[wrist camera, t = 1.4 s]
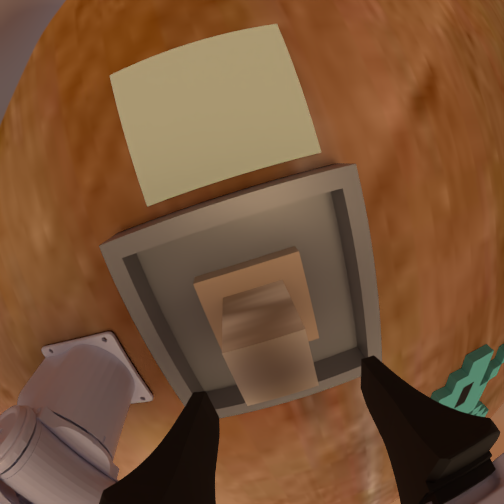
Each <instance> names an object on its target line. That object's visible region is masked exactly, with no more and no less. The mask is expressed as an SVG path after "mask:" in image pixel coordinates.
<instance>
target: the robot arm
mask: <svg viewBox="0 0 504 504" xmlns="http://www.w3.org/2000/svg"><path fill="white" fill-rule="evenodd" d="M103 337H105V338H106V339H107V340H105V339H104V338H103ZM52 350H53V351H52ZM41 351H42V353H43V355H44V356H45V359H44V360H43V362H42V363H41V364H40V366H39V367H38V368H37V370H36V371H35V372H34V374H33V375H32V377H31V378H30V379H29V381H28V382H27V384H26V385H25V386H24V388H23V389H22V391H21V392H20V394H19V397H18V402H17V405H14V406H12V407H10V408H8V409H7V410H6V411H4V412H3V413H2V414H1V415H0V504H216V502H215V470H216V462H217V453H218V444H219V416H218V414H217V412H216V410H215V408H214V406H213V404H212V402H211V401H210V399H209V397H208V395H207V393H206V391H202V392H193V394H192V395H191V397H190V399H189V400H188V402H187V404H186V406H185V407H184V409H183V411H182V412H181V414H180V416H179V417H178V419H177V420H176V422H175V423H174V425H173V427H172V428H171V429H170V431H169V432H168V434H167V435H166V436H165V438H164V439H163V440H162V442H161V443H160V444H159V445H158V447H157V448H156V449H155V450H154V451H153V452H152V453H151V454H150V456H149V457H148V458H146V459H145V460H144V461H143V462H142V463H141V464H140V465H139V466H138V467H137V468H136V469H134V470H133V471H132V472H131V473H129V474H128V475H127V476H125V477H124V478H123V479H121V480H120V481H118V480H117V476H118V472H119V468H118V467H117V466H116V465H115V464H114V463H113V458H114V455H115V451H116V448H117V445H118V441H119V438H120V434H121V431H122V428H123V425H124V422H125V418H126V415H127V412H128V409H129V406H130V404H132V403H140V402H148V401H152V400H153V395H152V393H151V392H150V390H149V389H148V387H147V386H146V384H145V383H144V382H143V380H142V379H141V377H140V376H139V374H138V372H137V371H136V369H135V368H134V366H133V365H132V363H131V361H130V360H129V358H128V357H127V355H126V353H125V352H124V350H123V348H122V347H121V345H120V343H119V342H118V340H117V338H116V336H115V335H114V334H113V333H112V332H104V333H100V334H95V335H91V336H87V337H83V338H79V339H74V340H70V341H66V342H61V343H57V344H52V345H48V346H44V347H43V348H42V349H41ZM361 390H362V393H363V396H364V399H365V402H366V405H367V407H368V409H369V412H370V414H371V416H372V418H373V420H374V422H375V424H376V426H377V428H378V430H379V432H380V434H381V437H382V439H383V441H384V443H385V446H386V449H387V452H388V455H389V458H390V461H391V465H392V468H393V472H394V475H395V479H396V483H397V487H398V492H399V497H400V502H401V504H504V453H503V454H502V455H500V456H499V457H498V458H496V459H495V460H494V461H493V462H492V461H491V460H490V457H491V456H492V454H491V453H490V451H489V450H490V449H491V447H492V446H493V445H494V443H495V442H496V441H497V439H498V437H499V435H500V431H499V430H498V428H497V427H496V425H495V424H494V423H493V421H492V420H491V419H490V418H486V417H480V416H475V415H471V414H468V413H464V412H461V411H458V410H456V409H453V408H450V407H448V406H445V405H443V404H441V403H439V402H437V401H435V400H433V399H431V398H429V397H428V396H426V395H424V394H423V393H421V392H419V391H418V390H416V389H415V388H413V387H412V386H410V385H409V384H408V383H406V382H405V381H404V380H402V379H401V378H400V377H399V376H397V375H396V374H395V373H394V372H392V371H391V370H390V369H389V368H388V367H387V366H385V365H384V364H383V363H382V362H381V361H380V360H379V359H378V358H377V357H375V356H374V355H373V356H370V357H367V358H363V359H361ZM144 397H145V398H144Z"/></svg>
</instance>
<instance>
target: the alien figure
mask: <svg viewBox="0 0 504 504" xmlns="http://www.w3.org/2000/svg"><path fill="white" fill-rule="evenodd" d="M493 351H494V350H493V349H491V348H490V347H489V346H488V345H487V344H486V345H484V346H482V347H480V348H479V349H477V350H475V351H473V352H471V353H469V354H467V355H466V357H465V359H464V362H463V365H462V368H461V369H459V370H457V371H455V372H453V373H451V374H450V375H449V378H448V380H447V383H446V386H444V387H442V388H440V389H438V390H436V391H434V392H433V393H432V396H431V399H433V400H435V401H437V402H439V403H441V404H443V405H445V406H448V407H450V408H453V409H456V410H458V411H461V412H464V413H468V414H471V415H475V416H480V417H485V415H486V414H487V412H488V408H487V407H486V406H485V405H483V404H482V402H480V401H479V399H480V397H481V395H482V393H483V391H484V389H485V386H486V384H487V382H488V381H489V380H490V379H492V378H493V377H495V376H496V375H497V373H498V371H499V368H500V366H501V364H502V363H504V344H502V345H501V346H499V348H498V351H497V354H496V356H495V358H494V359H493V360H491V361H490V359H491V357H492V354H493Z"/></svg>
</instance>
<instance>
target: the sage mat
mask: <svg viewBox="0 0 504 504" xmlns="http://www.w3.org/2000/svg"><path fill="white" fill-rule="evenodd" d="M110 80H111V84H112V88H113V92H114V97H115V101H116V105H117V109H118V112H119V116H120V120H121V124H122V127H123V131H124V134H125V138H126V141H127V145H128V148H129V152H130V155H131V158H132V162H133V165H134V168H135V171H136V174H137V177H138V180H139V184H140V187H141V190H142V193H143V195H144V198H145V201H146V204H147V207H148V206H150V205H153V204H155V203H158V202H161V201H164V200H166V199H169V198H172V197H175V196H177V195H180V194H183V193H186V192H189V191H192V190H194V189H197V188H200V187H203V186H206V185H209V184H212V183H215V182H219V181H222V180H225V179H228V178H231V177H234V176H238V175H241V174H244V173H247V172H251V171H254V170H258V169H261V168H265V167H268V166H272V165H275V164H279V163H282V162H286V161H290V160H294V159H297V158H301V157H305V156H309V155H313V154H317V153H321V150H320V146H319V143H318V139H317V136H316V132H315V129H314V126H313V122H312V119H311V116H310V113H309V109H308V106H307V103H306V100H305V97H304V94H303V91H302V88H301V85H300V83H299V80H298V77H297V74H296V71H295V69H294V66H293V63H292V60H291V58H290V55H289V53H288V50H287V47H286V45H285V42H284V40H283V37H282V35H281V32H280V30H279V28H278V25H277V24H272V25H266V26H260V27H254V28H249V29H244V30H239V31H235V32H230V33H226V34H222V35H218V36H214V37H210V38H207V39H203V40H200V41H196V42H193V43H190V44H187V45H184V46H181V47H178V48H175V49H172V50H169V51H166V52H163V53H161V54H158V55H155V56H153V57H150V58H148V59H145V60H143V61H141V62H138V63H136V64H133V65H131V66H129V67H127V68H125V69H122V70H120V71H118V72H116V73H114V74H112V75H110Z"/></svg>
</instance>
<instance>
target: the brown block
mask: <svg viewBox="0 0 504 504" xmlns="http://www.w3.org/2000/svg"><path fill="white" fill-rule="evenodd" d="M222 355H223V357H224V359H225V361H226V363H227V365H228V368H229V370H230V372H231V374H232V376H233V378H234V380H235V382H236V384H237V386H238V388H239V390H240V392H241V394H242V396H243V398H244V400H245V402H246V404H247V406H250V405H254V404H258V403H262V402H265V401H269V400H273V399H277V398H280V397H284V396H287V395H290V394H294V393H297V392H300V391H303V390H306V389H310V388H313V387H316V386H318V385H319V384H318V380H317V376H316V371H315V367H314V363H313V359H312V355H311V350H310V346H309V342H308V338H307V334H306V330H305V327H304V325H303V323H302V321H301V319H300V316H299V314H298V312H297V310H296V308H295V306H294V304H293V301H292V299H291V297H290V295H289V293H288V291H287V289H286V287H285V284H284V282H283V280H279V281H276V282H272V283H269V284H266V285H263V286H260V287H256V288H253V289H250V290H247V291H243V292H240V293H237V294H233V295H230V296H227V297H223V314H222Z"/></svg>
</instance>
